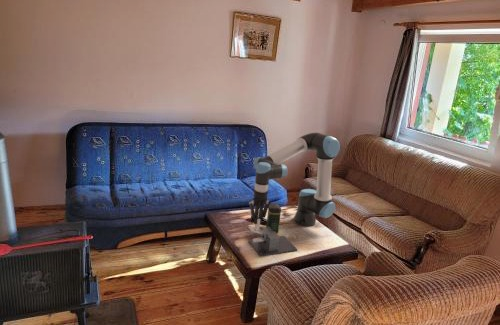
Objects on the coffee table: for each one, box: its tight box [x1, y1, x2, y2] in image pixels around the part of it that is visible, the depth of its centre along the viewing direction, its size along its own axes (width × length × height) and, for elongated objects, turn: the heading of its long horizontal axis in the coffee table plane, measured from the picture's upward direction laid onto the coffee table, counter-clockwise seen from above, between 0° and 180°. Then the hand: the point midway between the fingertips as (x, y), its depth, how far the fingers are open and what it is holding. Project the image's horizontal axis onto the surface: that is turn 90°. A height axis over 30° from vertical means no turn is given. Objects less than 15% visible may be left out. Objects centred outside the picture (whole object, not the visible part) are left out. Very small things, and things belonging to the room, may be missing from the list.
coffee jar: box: [265, 202, 282, 235], centre depth 226 cm, size 10×8×19 cm
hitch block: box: [248, 226, 298, 258], centre depth 209 cm, size 24×17×12 cm
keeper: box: [248, 225, 265, 235], centre depth 203 cm, size 10×6×1 cm, turn 113°
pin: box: [251, 231, 280, 244], centre depth 207 cm, size 15×6×6 cm, turn 113°
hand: (257, 228), depth 202 cm, fingers closed
